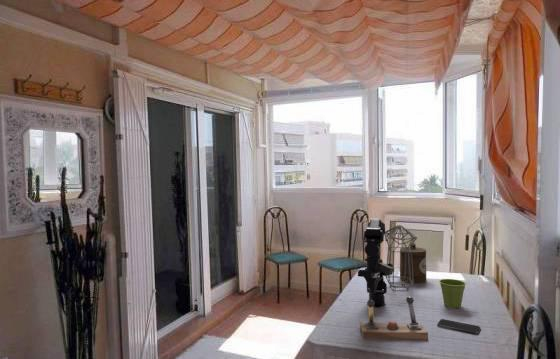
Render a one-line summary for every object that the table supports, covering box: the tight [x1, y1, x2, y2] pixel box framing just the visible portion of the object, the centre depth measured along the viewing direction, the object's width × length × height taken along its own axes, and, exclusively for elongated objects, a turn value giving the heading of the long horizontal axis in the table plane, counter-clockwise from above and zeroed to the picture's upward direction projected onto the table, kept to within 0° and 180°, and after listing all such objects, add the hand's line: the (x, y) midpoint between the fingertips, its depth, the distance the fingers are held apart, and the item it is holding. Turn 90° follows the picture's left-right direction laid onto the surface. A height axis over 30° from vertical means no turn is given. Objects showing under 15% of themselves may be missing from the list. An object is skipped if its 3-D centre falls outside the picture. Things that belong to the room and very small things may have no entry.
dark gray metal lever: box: [366, 299, 376, 325], centre depth 146 cm, size 3×3×11 cm
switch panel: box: [359, 320, 429, 340], centre depth 146 cm, size 9×24×4 cm, turn 86°
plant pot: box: [438, 278, 467, 309], centre depth 176 cm, size 12×12×11 cm
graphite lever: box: [405, 296, 419, 325], centre depth 147 cm, size 3×3×11 cm
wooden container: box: [399, 242, 427, 284], centre depth 221 cm, size 15×15×22 cm
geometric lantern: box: [384, 224, 418, 292], centre depth 203 cm, size 16×16×35 cm
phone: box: [436, 318, 481, 336], centre depth 151 cm, size 8×1×15 cm
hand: (373, 293), depth 160 cm, fingers closed
